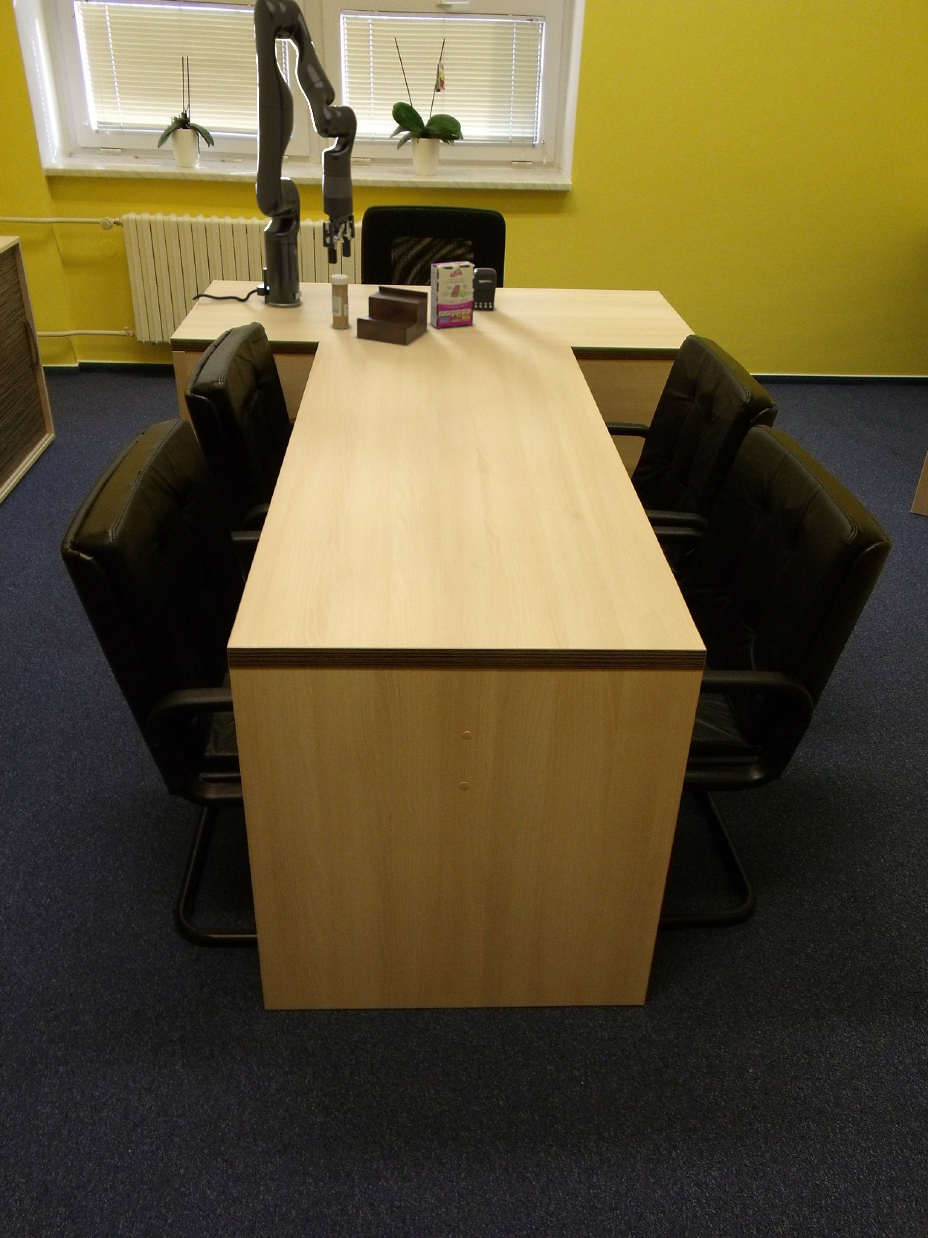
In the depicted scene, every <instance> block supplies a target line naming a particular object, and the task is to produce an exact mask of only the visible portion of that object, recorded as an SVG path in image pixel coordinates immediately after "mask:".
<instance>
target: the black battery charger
mask: <svg viewBox="0 0 928 1238" xmlns="http://www.w3.org/2000/svg"><path fill="white" fill-rule="evenodd" d="M497 277H498V276H497V272H496V270H495V269H494V268H489V267H488V268H487V267H486V268H485V267H479V268H475V270H474V297H473V298H474V299H473V311H474V310H475V311H493V310H494V309H495V297H496V289H497V280H498V279H497Z"/></svg>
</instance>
